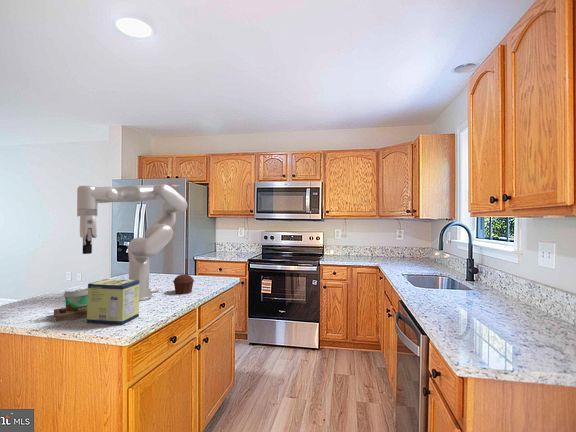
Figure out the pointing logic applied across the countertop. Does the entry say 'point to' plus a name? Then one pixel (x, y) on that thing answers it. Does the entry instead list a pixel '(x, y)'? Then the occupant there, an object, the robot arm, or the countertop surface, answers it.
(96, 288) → the protein box
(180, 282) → the muffin
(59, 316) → the base plate
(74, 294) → the food container
